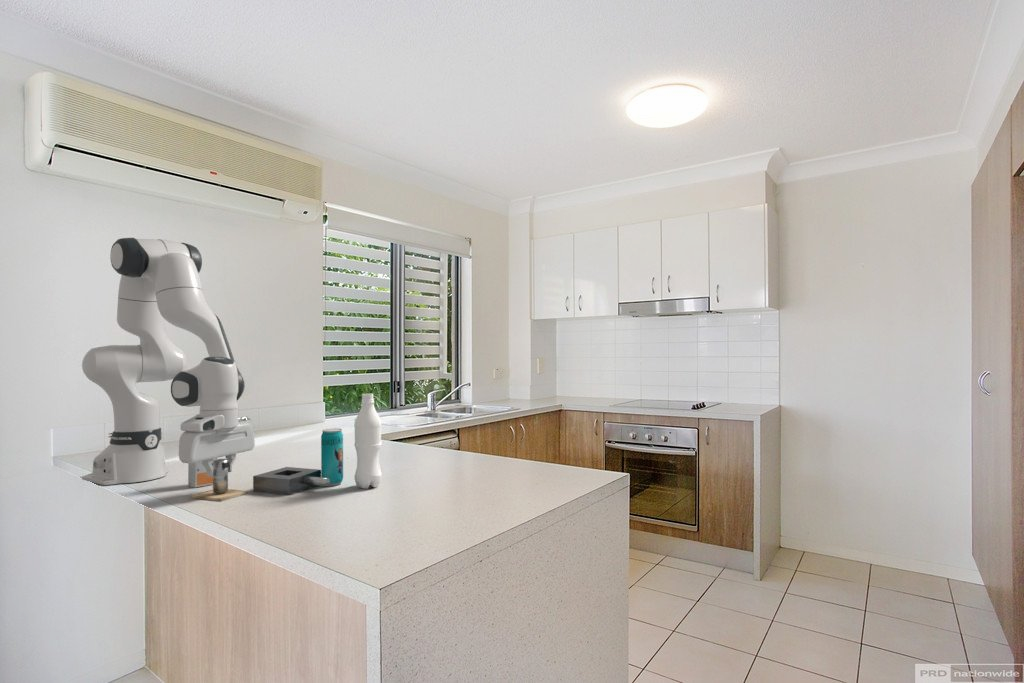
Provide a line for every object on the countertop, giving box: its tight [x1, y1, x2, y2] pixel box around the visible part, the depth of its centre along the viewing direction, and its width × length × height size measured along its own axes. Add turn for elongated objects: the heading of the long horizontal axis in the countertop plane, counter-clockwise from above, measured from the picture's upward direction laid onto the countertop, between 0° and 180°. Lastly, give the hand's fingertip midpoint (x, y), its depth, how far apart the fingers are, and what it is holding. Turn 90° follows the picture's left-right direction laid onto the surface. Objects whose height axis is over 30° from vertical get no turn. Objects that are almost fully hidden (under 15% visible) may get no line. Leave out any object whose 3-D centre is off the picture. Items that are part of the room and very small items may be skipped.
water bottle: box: [353, 393, 383, 490], centre depth 150 cm, size 7×7×25 cm
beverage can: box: [320, 427, 344, 487], centre depth 152 cm, size 6×6×15 cm
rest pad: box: [190, 488, 248, 502], centre depth 142 cm, size 10×8×1 cm
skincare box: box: [187, 458, 218, 489], centre depth 153 cm, size 6×4×12 cm
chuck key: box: [212, 458, 230, 493], centre depth 142 cm, size 6×3×8 cm, turn 58°
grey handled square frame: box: [252, 466, 330, 496], centre depth 148 cm, size 19×12×4 cm, turn 69°
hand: (219, 474), depth 142 cm, fingers closed on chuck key, 3 cm apart
